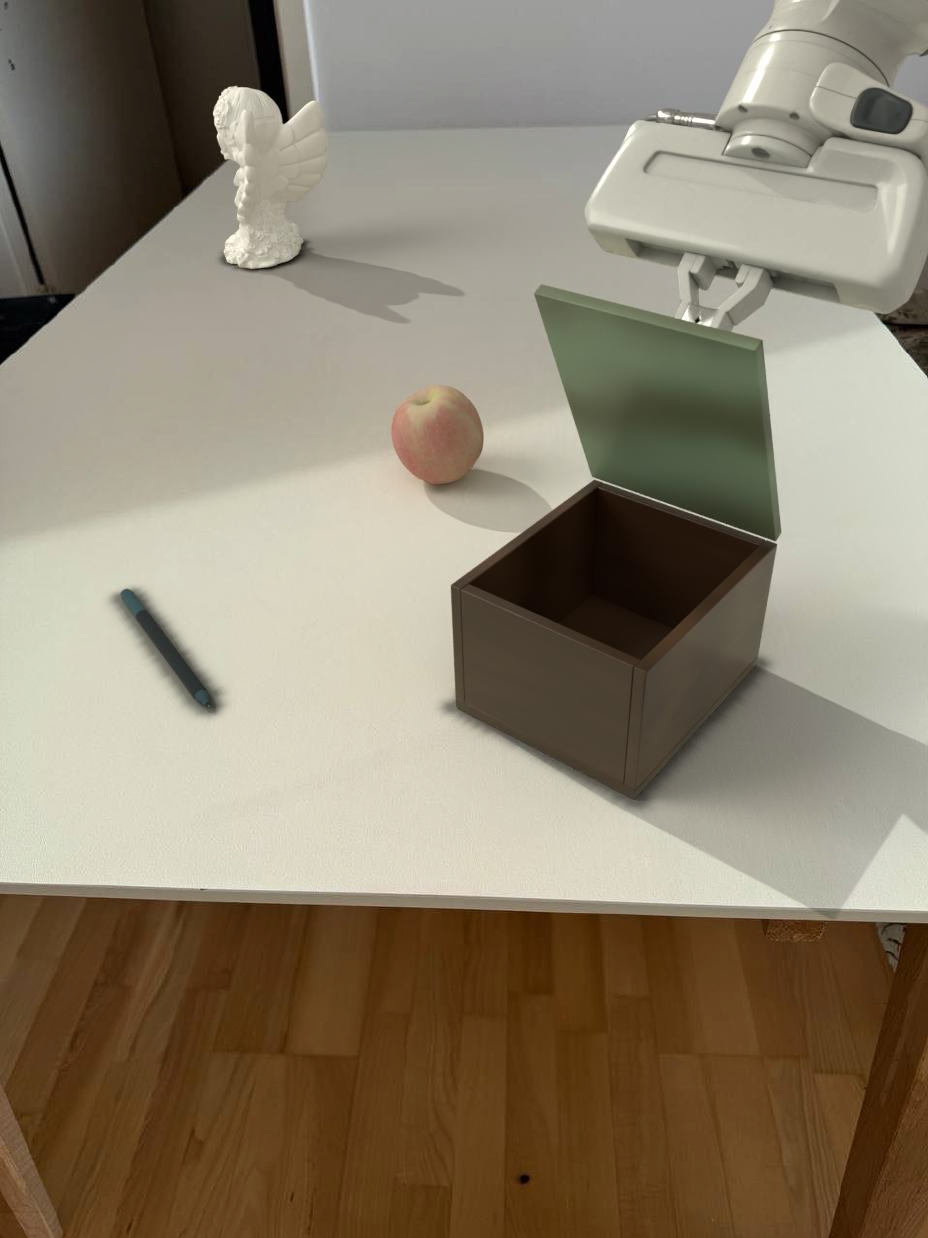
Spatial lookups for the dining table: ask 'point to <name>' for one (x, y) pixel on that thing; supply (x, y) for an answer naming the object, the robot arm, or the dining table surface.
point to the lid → (668, 407)
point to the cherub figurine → (268, 171)
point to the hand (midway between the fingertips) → (694, 341)
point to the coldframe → (610, 631)
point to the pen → (166, 647)
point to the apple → (437, 434)
